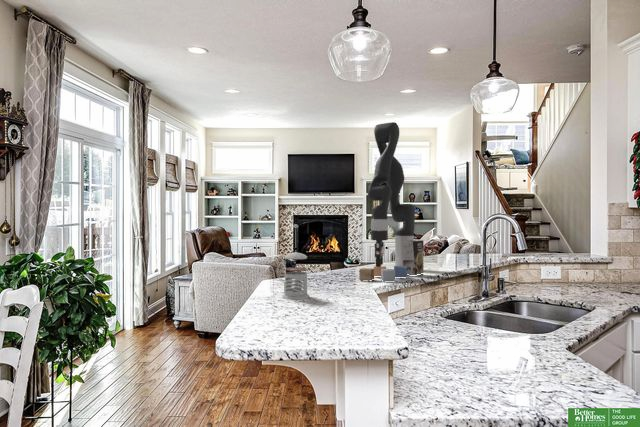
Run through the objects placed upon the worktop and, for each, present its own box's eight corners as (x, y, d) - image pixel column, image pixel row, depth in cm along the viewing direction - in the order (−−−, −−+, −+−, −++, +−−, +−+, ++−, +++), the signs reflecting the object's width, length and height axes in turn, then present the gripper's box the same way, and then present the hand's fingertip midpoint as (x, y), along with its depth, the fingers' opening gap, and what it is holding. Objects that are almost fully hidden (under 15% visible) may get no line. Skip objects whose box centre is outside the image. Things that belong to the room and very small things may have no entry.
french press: (306, 299, 149) (306, 224, 149) (273, 298, 151) (272, 224, 151) (312, 294, 159) (312, 224, 159) (281, 293, 161) (281, 223, 161)
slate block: (381, 280, 192) (381, 268, 192) (392, 280, 192) (392, 268, 192) (383, 282, 187) (383, 270, 187) (395, 282, 187) (395, 270, 187)
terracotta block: (374, 276, 204) (374, 265, 204) (386, 276, 203) (385, 265, 203) (373, 278, 199) (373, 266, 199) (385, 278, 198) (385, 267, 198)
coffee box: (415, 277, 201) (415, 241, 201) (402, 276, 205) (402, 240, 205) (424, 274, 208) (424, 240, 208) (411, 273, 212) (411, 239, 212)
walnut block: (362, 279, 195) (362, 268, 195) (373, 280, 193) (373, 268, 193) (359, 281, 190) (359, 269, 190) (370, 281, 188) (370, 270, 188)
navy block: (394, 277, 202) (393, 266, 202) (405, 277, 201) (405, 266, 201) (395, 278, 197) (395, 267, 197) (406, 278, 196) (406, 267, 196)
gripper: (372, 229, 209) (372, 263, 209) (369, 229, 195) (368, 267, 195) (389, 229, 207) (389, 264, 207) (386, 230, 193) (386, 267, 193)
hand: (379, 265), depth 201 cm, fingers open, 8 cm apart
